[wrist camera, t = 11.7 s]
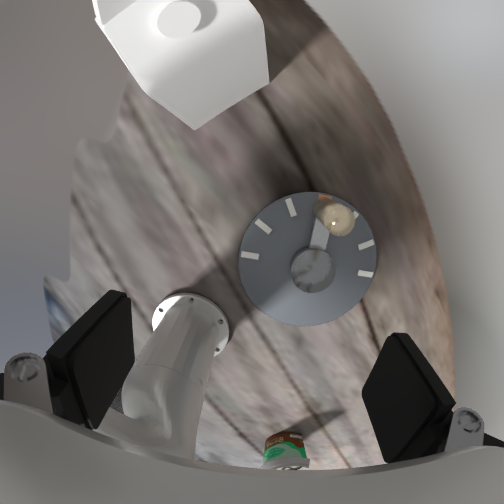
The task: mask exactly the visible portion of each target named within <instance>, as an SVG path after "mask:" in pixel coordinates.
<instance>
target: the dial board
mask: <svg viewBox="0 0 504 504" xmlns="http://www.w3.org/2000/svg"><path fill="white" fill-rule="evenodd" d="M322 197H327V198H330V199H332V200H334V201H336V202H338V203H340V204H342V205H344V206H345V207H347V208H349V209H350V210H351V211H352V212H353V214H354V217H355V225H354V227H353V229H352V230H351V232H350V233H348V234H347V235H344V236H336V235H333V234H332V233H331V232H330V233H329V237H328V241H327V245H326V249H325V250H326V251H327V252H328V253H329V254H330V256H331V257H332V259H333V260H334V262H335V265H336V275H335V278H334V280H333V282H332V283H331V284H330V286H329V287H327V288H326V289H325V290H323V291H320V292H317V293H307V292H304V291H302V290H300V289H299V288H297V287H296V285H295V284H294V283H293V280H292V277H291V273H290V261H291V259H292V257H293V255H294V254H295V253H296V252H297V251H298V250H299V249H301V248H302V247H305V246H308V244H309V240H310V235H311V231H312V227H313V222H314V218H315V216H314V214H313V205H314V203H315V202H316V201H317V200H318V199H319V198H322ZM376 261H377V249H376V243H375V239H374V236H373V233H372V231H371V228H370V226H369V224H368V223H367V221H366V220H365V218H364V217H363V216H362V215H361V214H360V212H359V211H358V210H356V209H355V208H354V207H353V206H352V205H350V204H349V203H347V202H346V201H344V200H342V199H340V198H337V197H335V196H333V195H329V194H326V193H320V192H300V193H294V194H291V195H287V196H284V197H282V198H280V199H278V200H276V201H274V202H272V203H271V204H269V205H268V206H267V207H265V208H264V209H263V210H262V211H261V212H260V213H259V214H258V215H257V216H256V217H255V218H254V219H253V221H252V222H251V224H250V225H249V227H248V229H247V231H246V232H245V235H244V237H243V240H242V243H241V247H240V252H239V261H238V265H239V274H240V279H241V282H242V285H243V288H244V290H245V292H246V294H247V296H248V297H249V299H250V300H251V301H252V303H253V304H254V305H255V306H256V307H257V308H258V309H259V310H260V311H262V312H263V313H264V314H265V315H267V316H269V317H270V318H272V319H274V320H276V321H279V322H282V323H285V324H289V325H294V326H314V325H320V324H323V323H327V322H330V321H332V320H334V319H337V318H338V317H340V316H342V315H344V314H345V313H346V312H348V311H349V310H351V309H352V308H353V307H354V306H355V305H356V304H357V303H358V302H359V301H360V300H361V298H362V297H363V296H364V294H365V293H366V291H367V290H368V288H369V286H370V284H371V282H372V279H373V276H374V273H375V268H376Z"/></svg>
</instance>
